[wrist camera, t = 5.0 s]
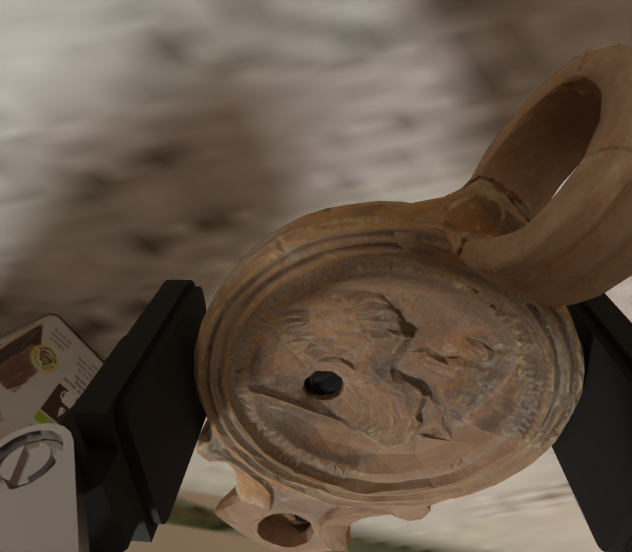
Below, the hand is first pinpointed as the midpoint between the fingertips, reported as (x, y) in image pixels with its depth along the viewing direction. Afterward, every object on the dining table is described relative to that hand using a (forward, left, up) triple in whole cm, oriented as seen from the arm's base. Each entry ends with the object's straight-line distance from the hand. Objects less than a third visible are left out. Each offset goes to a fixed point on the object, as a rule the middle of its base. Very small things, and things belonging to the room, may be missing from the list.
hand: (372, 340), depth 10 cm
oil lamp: (0, 0, -2) cm, 2 cm away
